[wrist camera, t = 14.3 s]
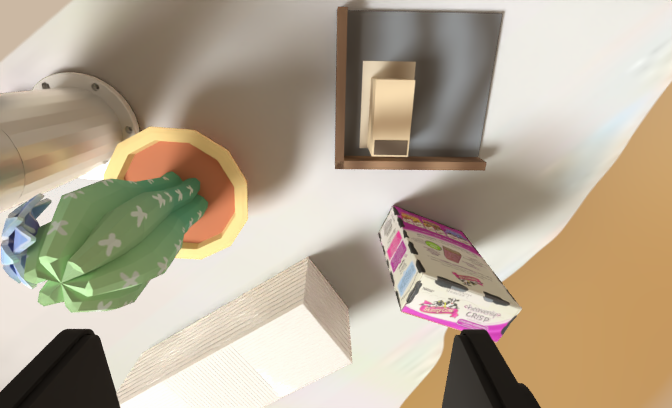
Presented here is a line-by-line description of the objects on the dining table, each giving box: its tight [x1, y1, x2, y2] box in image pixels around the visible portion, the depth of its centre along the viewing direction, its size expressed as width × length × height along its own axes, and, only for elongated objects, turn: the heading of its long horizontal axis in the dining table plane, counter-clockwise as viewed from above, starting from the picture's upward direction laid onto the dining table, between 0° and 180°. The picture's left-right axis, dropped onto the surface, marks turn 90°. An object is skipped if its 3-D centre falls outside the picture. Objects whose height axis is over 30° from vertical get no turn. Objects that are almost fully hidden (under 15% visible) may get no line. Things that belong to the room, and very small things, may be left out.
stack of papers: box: [116, 257, 352, 408], centre depth 50 cm, size 32×11×11 cm, turn 123°
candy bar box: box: [378, 206, 522, 342], centre depth 41 cm, size 11×5×16 cm, turn 68°
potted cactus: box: [1, 127, 248, 312], centre depth 33 cm, size 15×15×25 cm
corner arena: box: [335, 7, 502, 170], centre depth 40 cm, size 18×17×3 cm
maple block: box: [367, 78, 415, 157], centre depth 40 cm, size 8×4×5 cm, turn 179°
